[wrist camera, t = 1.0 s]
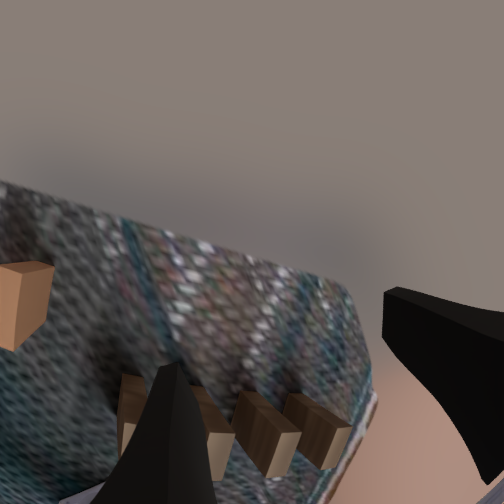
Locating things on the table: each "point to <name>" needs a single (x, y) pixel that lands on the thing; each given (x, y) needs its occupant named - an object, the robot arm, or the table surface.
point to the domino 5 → (317, 430)
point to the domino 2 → (129, 408)
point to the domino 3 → (215, 433)
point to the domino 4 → (264, 434)
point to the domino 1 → (23, 300)
